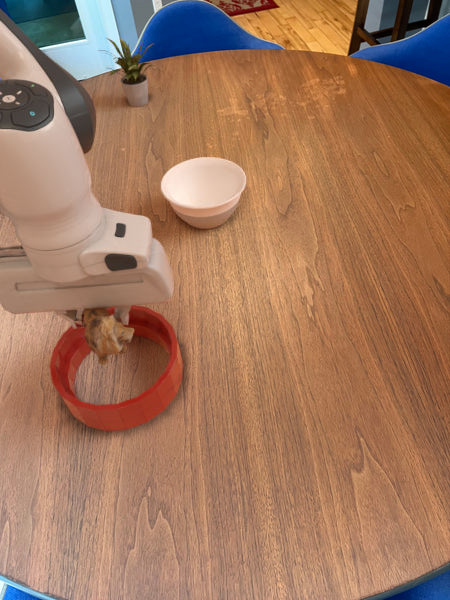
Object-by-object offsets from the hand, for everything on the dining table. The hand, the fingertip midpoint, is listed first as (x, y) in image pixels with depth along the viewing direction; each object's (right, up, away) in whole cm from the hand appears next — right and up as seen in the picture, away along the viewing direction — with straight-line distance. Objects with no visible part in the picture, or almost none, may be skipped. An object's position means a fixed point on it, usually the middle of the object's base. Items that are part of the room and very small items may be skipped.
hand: (102, 322), depth 61 cm
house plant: (-9, +56, +67) cm, 88 cm away
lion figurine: (+1, -2, +1) cm, 3 cm away
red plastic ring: (+1, -9, +10) cm, 13 cm away
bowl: (+12, +19, +33) cm, 40 cm away
